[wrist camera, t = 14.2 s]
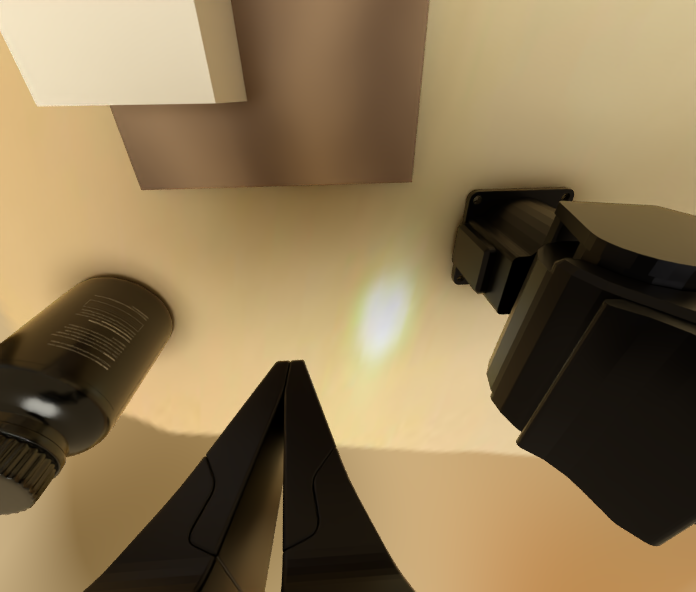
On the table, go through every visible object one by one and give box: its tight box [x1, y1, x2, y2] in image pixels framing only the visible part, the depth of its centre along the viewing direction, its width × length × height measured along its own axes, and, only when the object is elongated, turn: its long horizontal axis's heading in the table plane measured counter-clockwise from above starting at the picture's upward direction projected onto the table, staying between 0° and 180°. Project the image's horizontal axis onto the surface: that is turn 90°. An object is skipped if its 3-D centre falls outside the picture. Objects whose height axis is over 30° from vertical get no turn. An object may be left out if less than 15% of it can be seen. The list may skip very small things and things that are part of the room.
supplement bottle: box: [0, 277, 172, 515], centre depth 17 cm, size 7×7×12 cm
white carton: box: [0, 0, 247, 106], centre depth 11 cm, size 6×6×5 cm
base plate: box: [110, 0, 429, 190], centre depth 14 cm, size 15×14×1 cm
